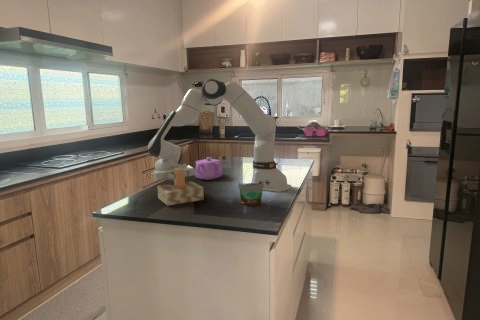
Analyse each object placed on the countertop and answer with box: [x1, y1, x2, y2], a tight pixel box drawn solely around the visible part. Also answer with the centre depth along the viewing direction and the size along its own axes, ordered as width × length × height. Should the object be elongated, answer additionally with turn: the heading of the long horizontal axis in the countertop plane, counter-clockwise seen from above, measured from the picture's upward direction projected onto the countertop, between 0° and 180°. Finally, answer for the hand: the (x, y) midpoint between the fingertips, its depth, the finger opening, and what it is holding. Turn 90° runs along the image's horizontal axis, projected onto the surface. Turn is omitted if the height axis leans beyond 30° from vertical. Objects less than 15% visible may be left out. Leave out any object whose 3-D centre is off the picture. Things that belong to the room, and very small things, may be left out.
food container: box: [237, 181, 264, 207], centre depth 152 cm, size 12×6×10 cm, turn 105°
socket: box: [157, 181, 205, 206], centre depth 162 cm, size 18×14×6 cm
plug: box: [173, 168, 186, 189], centre depth 161 cm, size 4×4×14 cm
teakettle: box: [194, 156, 223, 181], centre depth 208 cm, size 17×17×12 cm
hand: (179, 176), depth 160 cm, fingers closed on plug, 4 cm apart
